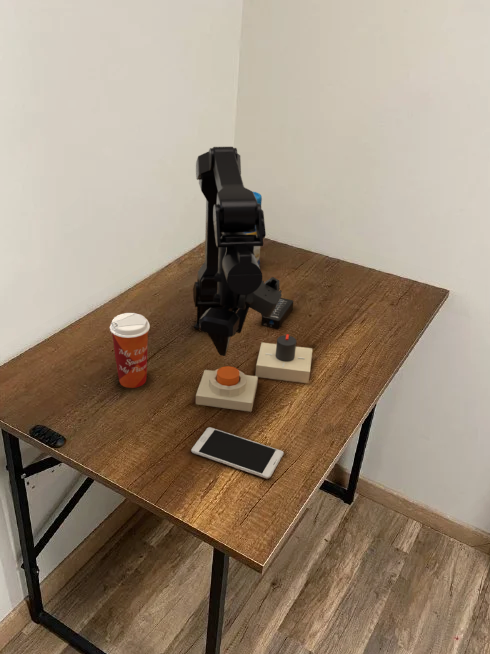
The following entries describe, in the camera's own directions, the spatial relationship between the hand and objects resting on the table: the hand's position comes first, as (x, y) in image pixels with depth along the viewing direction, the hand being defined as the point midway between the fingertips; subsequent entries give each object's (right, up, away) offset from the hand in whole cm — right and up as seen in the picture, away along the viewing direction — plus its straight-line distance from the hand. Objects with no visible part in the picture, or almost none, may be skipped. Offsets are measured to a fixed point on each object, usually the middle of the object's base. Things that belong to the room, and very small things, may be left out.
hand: (230, 343), depth 119 cm
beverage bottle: (+6, +24, +56) cm, 61 cm away
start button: (0, -7, +5) cm, 8 cm away
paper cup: (-20, -7, +10) cm, 23 cm away
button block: (0, -10, +7) cm, 12 cm away
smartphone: (+1, -20, -8) cm, 21 cm away
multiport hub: (+13, +8, +33) cm, 36 cm away
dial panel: (+12, -5, +15) cm, 20 cm away
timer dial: (+12, -2, +13) cm, 18 cm away
